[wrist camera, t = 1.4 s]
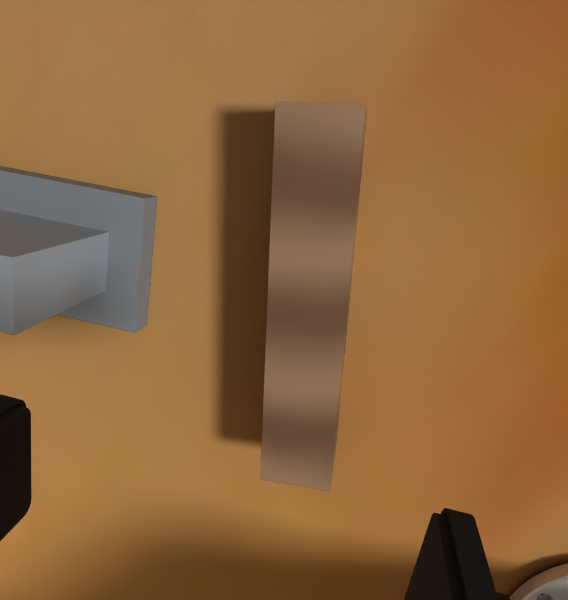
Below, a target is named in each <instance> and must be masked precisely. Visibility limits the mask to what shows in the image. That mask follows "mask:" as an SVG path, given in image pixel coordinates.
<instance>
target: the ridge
mask: <svg viewBox="0 0 568 600" xmlns="http://www.w3.org/2000/svg"><path fill="white" fill-rule="evenodd" d="M156 202H157V196H152V195H146V194H141V193H136V192H131V191H126V190H121V189H116V188H110V187H105V186H100V185H95V184H90V183H85V182H80V181H74V180H69V179H64V178H59V177H54V176H49V175H43V174H38V173H33V172H28V171H23V170H18V169H13V168H7V167H2V166H0V332H3V333H7V334H11V335H15V334H17V333H19V332H21V331H23V330H25V329H28V328H30V327H32V326H34V325H36V324H38V323H40V322H42V321H44V320H46V319H48V318H50V317H52V316H54V315H60V316H64V317H69V318H73V319H77V320H81V321H86V322H90V323H94V324H98V325H103V326H107V327H111V328H116V329H120V330H124V331H128V332H133V333H136V332H137V331H139V330H140V329H142V328H143V327H144V326H146V325H147V315H148V302H149V289H150V277H151V264H152V252H153V239H154V227H155V214H156Z"/></svg>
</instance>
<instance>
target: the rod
mask: <svg viewBox="0 0 568 600" xmlns="http://www.w3.org/2000/svg"><path fill="white" fill-rule="evenodd" d="M366 118H367V110H366V105H362V104H330V103H299V102H275V123H274V148H273V173H272V198H271V223H270V248H269V273H268V299H267V324H266V349H265V374H264V399H263V424H262V449H261V474H260V480H263V481H269V482H275V483H281V484H287V485H293V486H299V487H306V488H312V489H318V490H324V491H330V490H331V482H332V475H333V467H334V459H335V451H336V440H337V430H338V419H339V408H340V397H341V387H342V376H343V365H344V354H345V344H346V333H347V322H348V311H349V301H350V290H351V279H352V268H353V258H354V247H355V236H356V225H357V214H358V204H359V193H360V182H361V171H362V161H363V150H364V139H365V128H366Z"/></svg>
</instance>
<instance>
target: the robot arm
mask: <svg viewBox="0 0 568 600" xmlns="http://www.w3.org/2000/svg"><path fill="white" fill-rule="evenodd" d="M30 504H31V413H30V410H29V409H28V408H26V404H25V402H24V401H23V400H20V399H16V398H12V397H8V396H5V395H0V541H1V540H2V539H3V538H4V537H5V536H6V535H7V534H8V533H9V531H10V530H11V529H12V528H13V527H14V526H15V525H16V524H17V523H18V522H19V521H20V520H21V519H22V518H23V517H24V516H25V514H26V513H27V511H28V509H29V507H30ZM404 600H568V563H567V564H564V565H560V566H557V567H553V568H551V569H548V570H546V571H544V572H542V573H540V574H538V575H536V576H534V577H532V578H531V579H530V580H528V581H527V582H525V583H524V584H522V585H521V586H520V587H519V588H518V589H517V590H516V591H515V592H514V593H513V594H512V595H511V596H510V597H508V596H507V595H504V594H500V593H497V592H496V590H495V587H494V583H493V580H492V576H491V573H490V570H489V566H488V563H487V559H486V556H485V552H484V549H483V545H482V542H481V539H480V535H479V532H478V528H477V525H476V521H475V519H474V516H472V515H471V514H467V513H463V512H459V511H455V510H451V509H447V508H444V509H443V511H442V512H441V514H438V513H433V514H432V517H431V519H430V522H429V525H428V528H427V531H426V534H425V537H424V541H423V544H422V547H421V550H420V553H419V556H418V559H417V562H416V565H415V568H414V571H413V574H412V577H411V580H410V583H409V586H408V589H407V592H406V595H405V598H404Z"/></svg>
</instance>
